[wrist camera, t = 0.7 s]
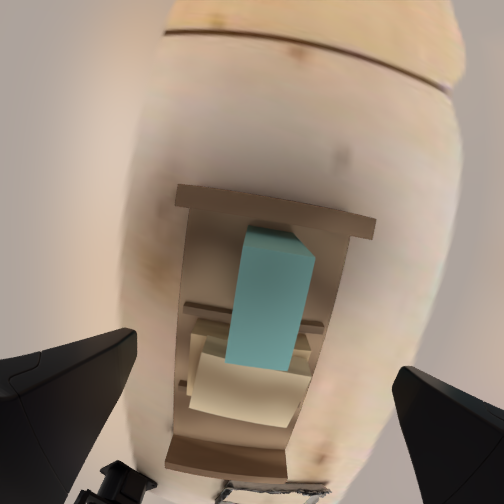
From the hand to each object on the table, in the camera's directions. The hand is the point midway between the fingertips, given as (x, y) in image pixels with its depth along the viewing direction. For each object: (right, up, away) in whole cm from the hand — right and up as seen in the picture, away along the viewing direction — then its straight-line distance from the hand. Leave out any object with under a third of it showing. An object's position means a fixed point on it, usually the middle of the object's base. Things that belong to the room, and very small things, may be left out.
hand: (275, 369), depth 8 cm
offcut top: (-1, -5, +10) cm, 11 cm away
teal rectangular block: (0, +2, +11) cm, 11 cm away
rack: (-1, -4, +14) cm, 14 cm away
